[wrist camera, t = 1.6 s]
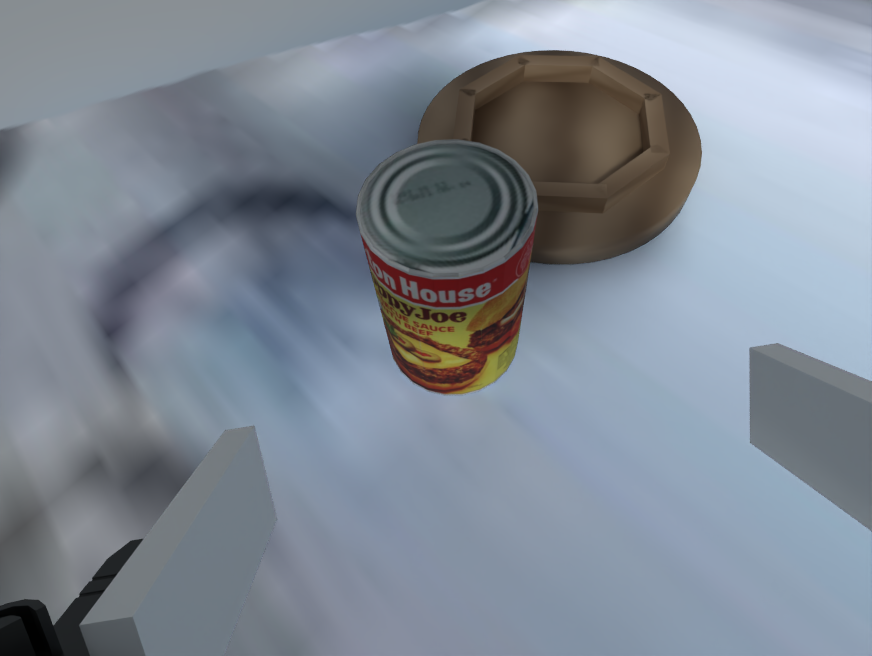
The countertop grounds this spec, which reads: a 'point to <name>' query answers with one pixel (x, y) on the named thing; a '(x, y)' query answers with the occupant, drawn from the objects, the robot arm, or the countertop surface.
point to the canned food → (449, 259)
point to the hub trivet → (578, 146)
